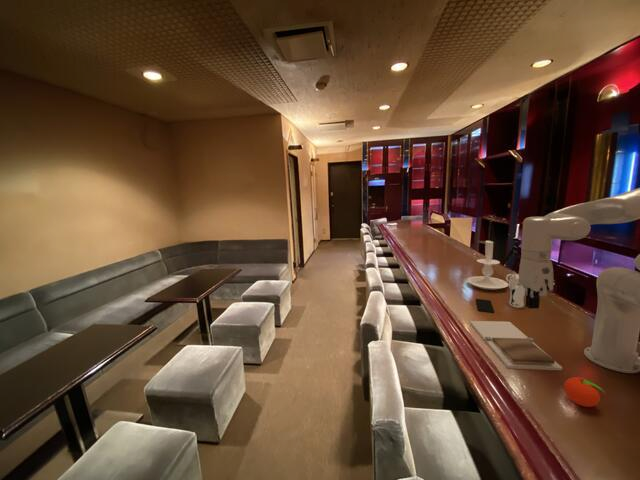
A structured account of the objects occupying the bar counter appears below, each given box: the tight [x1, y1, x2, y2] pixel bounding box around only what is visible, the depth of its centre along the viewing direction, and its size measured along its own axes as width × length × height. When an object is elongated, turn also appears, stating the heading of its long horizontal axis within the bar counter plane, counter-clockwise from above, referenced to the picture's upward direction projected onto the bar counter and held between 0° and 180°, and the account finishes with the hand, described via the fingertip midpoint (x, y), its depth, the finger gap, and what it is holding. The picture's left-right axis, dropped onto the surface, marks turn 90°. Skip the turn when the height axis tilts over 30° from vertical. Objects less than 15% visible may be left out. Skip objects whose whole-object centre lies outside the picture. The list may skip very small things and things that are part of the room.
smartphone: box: [475, 298, 495, 314], centre depth 130 cm, size 7×1×15 cm
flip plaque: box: [492, 338, 556, 364], centre depth 92 cm, size 14×12×1 cm
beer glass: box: [508, 273, 526, 309], centre depth 128 cm, size 7×7×15 cm
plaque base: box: [469, 320, 563, 372], centre depth 99 cm, size 30×16×2 cm, turn 172°
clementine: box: [563, 376, 607, 408], centre depth 70 cm, size 8×7×7 cm
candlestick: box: [466, 240, 513, 291], centre depth 151 cm, size 21×25×28 cm
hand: (532, 307), depth 88 cm, fingers closed
